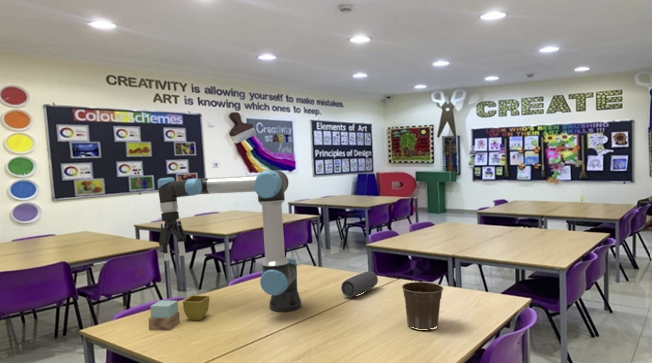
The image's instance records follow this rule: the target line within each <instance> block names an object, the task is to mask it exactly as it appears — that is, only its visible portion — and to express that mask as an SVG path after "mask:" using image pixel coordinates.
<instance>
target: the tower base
mask: <svg viewBox="0 0 652 363" xmlns="http://www.w3.org/2000/svg"><path fill="white" fill-rule="evenodd" d="M180 323H181V322H180V311H178V313H176V314H175V315H173V316H172V317H170V318H151V316H150V317H149V318H148V330H149V331H171V330H172V329H174V328H175V327H176V326H177V325H179V324H180Z"/></svg>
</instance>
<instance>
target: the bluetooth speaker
mask: <svg viewBox="0 0 652 363" xmlns="http://www.w3.org/2000/svg"><path fill="white" fill-rule="evenodd" d="M378 282H379V278H378V275H377V274H376V273H375V271H373V270H370V271H369V270H368V271H364V272H362V273H358V274H356V275H354V276H352V277H349V278H347V279H345V280H344V281H343V282H342V283H341V286H340V287H341V288H340V290H341V292H342V294H343V296H345V297H347V298H352V297H356V295H358V294H361V293H363V292H365V291H367V292H368V291H369V290H371V289H372V288H374V287H375V286H376V285H377V284H378Z"/></svg>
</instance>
